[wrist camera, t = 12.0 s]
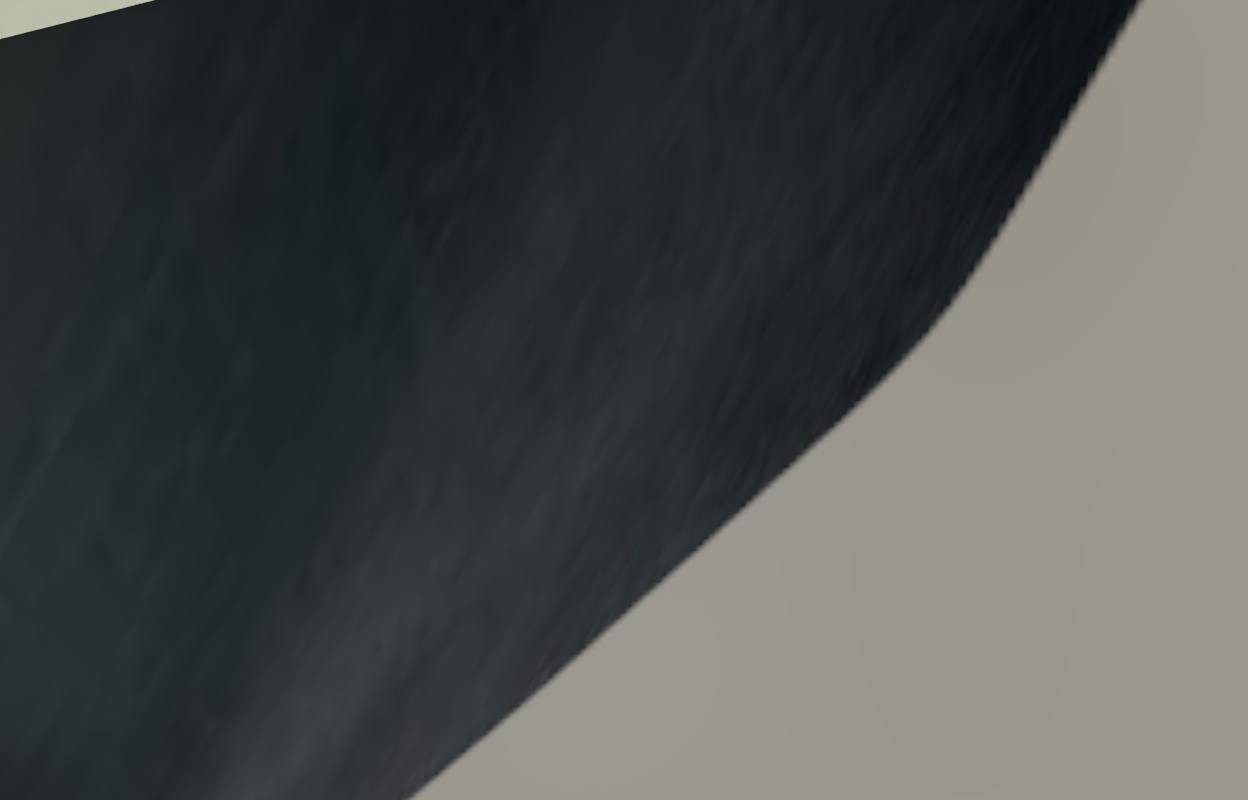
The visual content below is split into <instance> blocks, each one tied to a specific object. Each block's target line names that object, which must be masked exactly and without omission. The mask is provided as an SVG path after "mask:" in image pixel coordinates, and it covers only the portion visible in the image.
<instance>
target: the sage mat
mask: <svg viewBox="0 0 1248 800" xmlns="http://www.w3.org/2000/svg"><path fill="white" fill-rule="evenodd" d="M149 1H152V0H0V39H2V38H6V37H10V36H14V35H18V34H21V33H25V32H29V31H33V30H37V29H41V28H45V27H49V26H53V25H57V24H61V23H65V22H69V21H73V20H77V19H81V18H85V17H89V16H93V15H97V14H101V13H105V12H109V11H113V10H117V9H121V8H125V7H129V6H133V5H137V4H141V3H145V2H149Z"/></svg>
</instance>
